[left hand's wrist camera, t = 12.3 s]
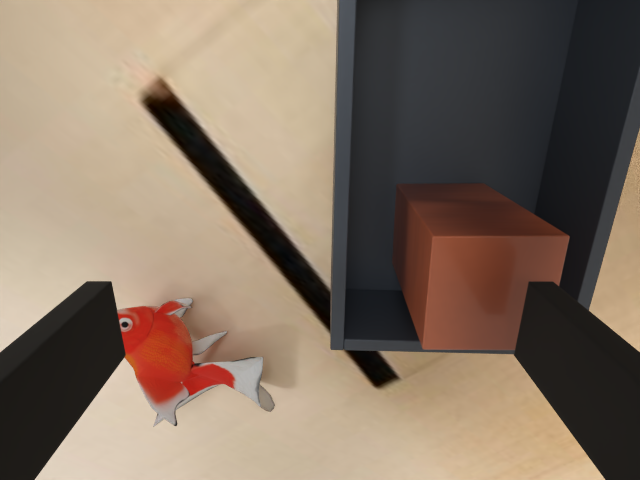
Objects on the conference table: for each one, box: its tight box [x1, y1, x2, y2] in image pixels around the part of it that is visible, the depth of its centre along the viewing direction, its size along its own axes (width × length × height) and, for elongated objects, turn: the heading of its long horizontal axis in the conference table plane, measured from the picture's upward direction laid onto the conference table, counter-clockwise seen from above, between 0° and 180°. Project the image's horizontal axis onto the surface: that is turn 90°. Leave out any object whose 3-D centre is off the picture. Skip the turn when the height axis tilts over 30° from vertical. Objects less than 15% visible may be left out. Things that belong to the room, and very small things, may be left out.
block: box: [392, 183, 569, 350], centre depth 18 cm, size 4×4×8 cm
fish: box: [117, 298, 275, 427], centre depth 33 cm, size 11×16×10 cm
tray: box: [331, 0, 640, 354], centre depth 17 cm, size 11×25×6 cm, turn 179°
